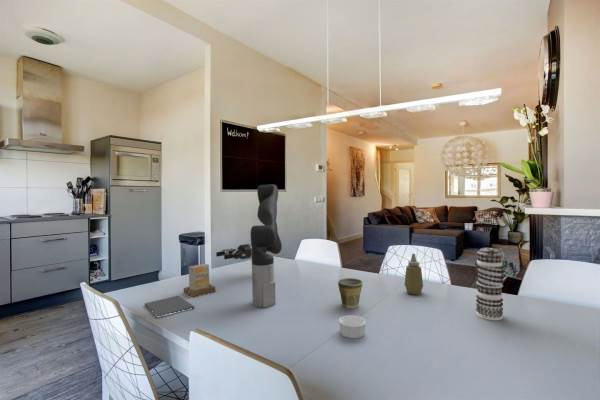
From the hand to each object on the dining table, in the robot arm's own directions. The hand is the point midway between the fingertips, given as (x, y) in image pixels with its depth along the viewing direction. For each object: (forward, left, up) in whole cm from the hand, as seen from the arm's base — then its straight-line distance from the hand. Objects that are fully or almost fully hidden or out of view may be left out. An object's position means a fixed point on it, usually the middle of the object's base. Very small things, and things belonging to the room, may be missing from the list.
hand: (220, 255), depth 152 cm
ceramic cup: (-59, -29, -16) cm, 68 cm away
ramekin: (-76, -9, -16) cm, 78 cm away
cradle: (0, +11, -16) cm, 19 cm away
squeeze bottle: (-70, -61, -16) cm, 94 cm away
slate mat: (-9, +28, -16) cm, 34 cm away
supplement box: (0, +11, -16) cm, 20 cm away
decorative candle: (-102, -57, -16) cm, 118 cm away
